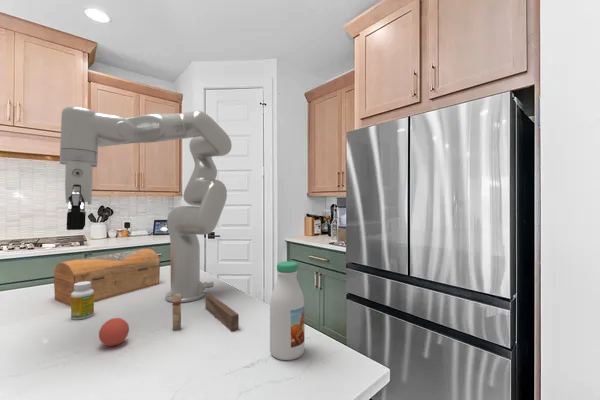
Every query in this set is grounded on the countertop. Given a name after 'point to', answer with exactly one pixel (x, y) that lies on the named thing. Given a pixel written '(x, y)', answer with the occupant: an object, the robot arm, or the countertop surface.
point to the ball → (113, 331)
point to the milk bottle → (287, 314)
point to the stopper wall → (222, 312)
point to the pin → (176, 311)
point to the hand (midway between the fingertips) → (76, 228)
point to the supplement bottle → (82, 301)
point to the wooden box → (108, 274)
